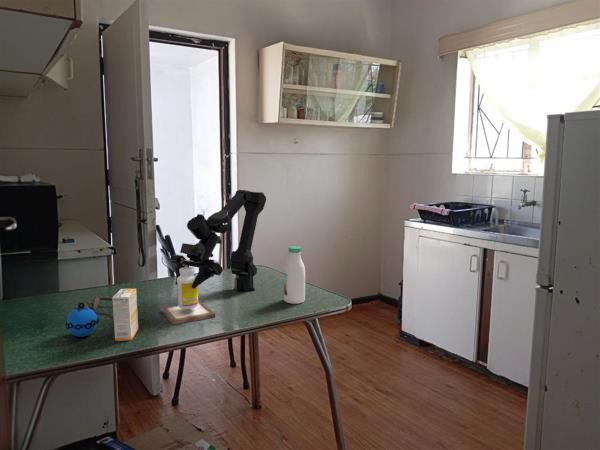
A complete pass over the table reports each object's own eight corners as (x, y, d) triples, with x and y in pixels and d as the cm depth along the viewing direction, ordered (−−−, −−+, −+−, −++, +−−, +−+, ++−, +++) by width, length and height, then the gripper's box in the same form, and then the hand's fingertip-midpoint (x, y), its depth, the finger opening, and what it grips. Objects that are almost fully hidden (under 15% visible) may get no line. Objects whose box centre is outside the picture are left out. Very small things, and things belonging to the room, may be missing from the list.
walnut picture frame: (201, 305, 164) (201, 301, 164) (215, 317, 152) (215, 313, 152) (161, 311, 157) (160, 307, 157) (172, 324, 145) (172, 320, 145)
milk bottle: (308, 299, 172) (309, 246, 169) (299, 305, 165) (300, 250, 162) (289, 296, 175) (289, 244, 172) (280, 302, 168) (280, 247, 165)
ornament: (74, 344, 130) (71, 309, 129) (62, 335, 136) (59, 302, 134) (104, 335, 136) (102, 302, 135) (91, 328, 142) (89, 296, 141)
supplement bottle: (202, 306, 155) (201, 268, 153) (186, 311, 150) (184, 272, 148) (190, 301, 159) (188, 265, 157) (173, 306, 154) (172, 269, 152)
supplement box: (122, 330, 140) (120, 288, 139) (138, 330, 141) (136, 288, 139) (114, 341, 132) (111, 296, 130) (131, 340, 133) (129, 296, 131)
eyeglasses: (100, 306, 164) (99, 292, 163) (141, 307, 162) (140, 294, 162) (76, 320, 150) (75, 305, 149) (120, 323, 148) (119, 307, 147)
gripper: (172, 231, 159) (149, 270, 151) (216, 236, 150) (194, 277, 142) (189, 249, 167) (168, 287, 159) (231, 255, 158) (211, 295, 150)
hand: (184, 286), depth 152 cm, fingers closed on supplement bottle, 7 cm apart
